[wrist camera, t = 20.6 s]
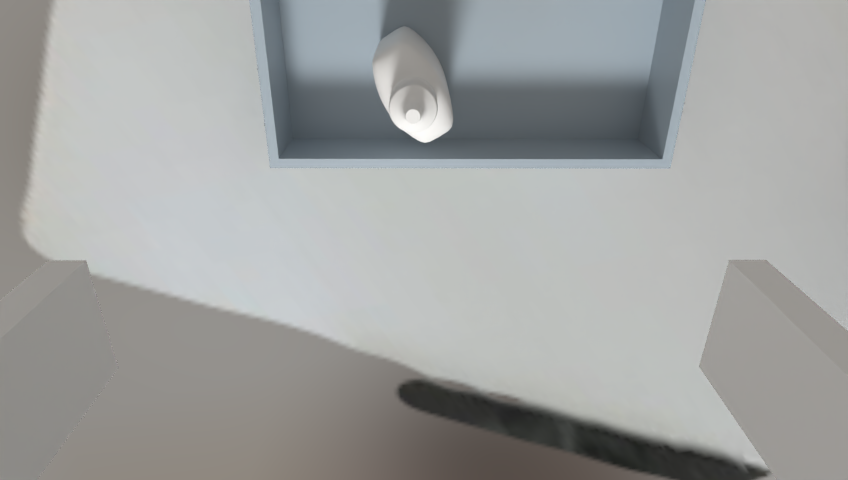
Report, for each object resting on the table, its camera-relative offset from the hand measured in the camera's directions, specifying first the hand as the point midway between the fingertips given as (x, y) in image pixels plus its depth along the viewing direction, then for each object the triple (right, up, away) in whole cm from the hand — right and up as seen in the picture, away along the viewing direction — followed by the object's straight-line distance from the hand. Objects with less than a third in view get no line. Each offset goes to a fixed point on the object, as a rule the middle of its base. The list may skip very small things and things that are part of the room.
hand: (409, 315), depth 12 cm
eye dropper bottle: (0, +13, +25) cm, 28 cm away
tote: (+3, +16, +24) cm, 29 cm away
